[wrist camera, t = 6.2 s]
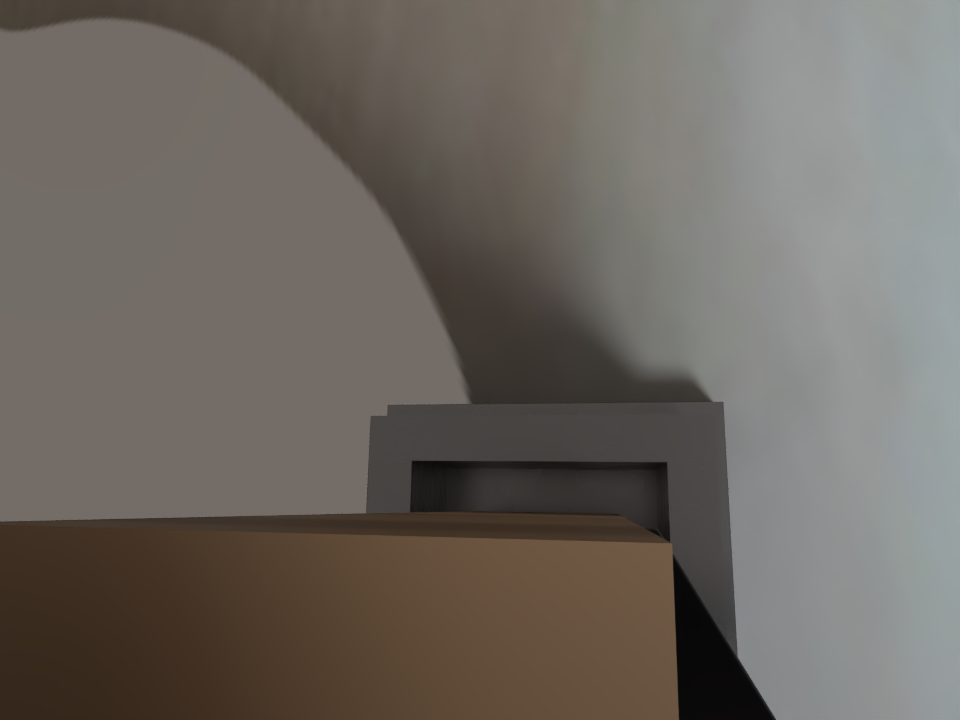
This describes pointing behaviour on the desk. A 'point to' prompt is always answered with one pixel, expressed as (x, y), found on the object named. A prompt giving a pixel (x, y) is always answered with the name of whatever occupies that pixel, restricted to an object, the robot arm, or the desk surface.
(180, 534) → the block
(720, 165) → the desk surface
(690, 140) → the desk surface
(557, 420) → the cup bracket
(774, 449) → the desk surface
